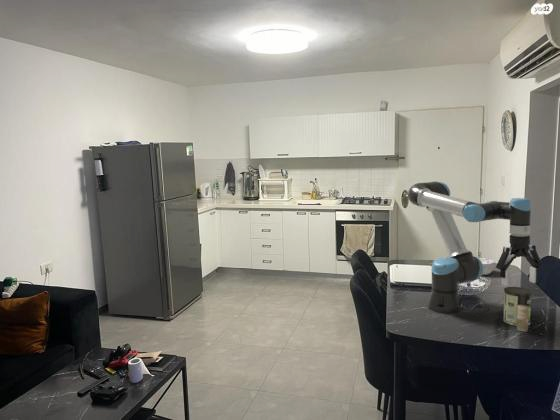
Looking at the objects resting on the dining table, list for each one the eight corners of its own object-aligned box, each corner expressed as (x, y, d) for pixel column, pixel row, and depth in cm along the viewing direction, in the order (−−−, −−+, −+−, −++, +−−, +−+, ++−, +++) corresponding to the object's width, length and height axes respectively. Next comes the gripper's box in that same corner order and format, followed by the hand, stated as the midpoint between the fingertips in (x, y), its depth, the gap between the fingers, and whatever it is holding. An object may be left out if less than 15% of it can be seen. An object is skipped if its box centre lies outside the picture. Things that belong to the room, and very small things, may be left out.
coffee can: (530, 319, 180) (531, 288, 178) (530, 328, 171) (531, 295, 169) (503, 315, 185) (504, 285, 183) (502, 323, 176) (503, 292, 175)
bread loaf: (521, 332, 167) (522, 308, 166) (514, 328, 171) (515, 305, 170) (530, 331, 168) (531, 307, 167) (522, 327, 172) (523, 304, 171)
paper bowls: (462, 270, 258) (462, 258, 257) (485, 268, 260) (485, 256, 259) (476, 277, 243) (476, 264, 242) (500, 275, 245) (500, 262, 244)
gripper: (499, 238, 168) (498, 288, 170) (552, 234, 172) (551, 283, 174) (487, 235, 175) (486, 283, 177) (538, 231, 179) (537, 278, 182)
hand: (518, 283), depth 176 cm, fingers open, 13 cm apart
